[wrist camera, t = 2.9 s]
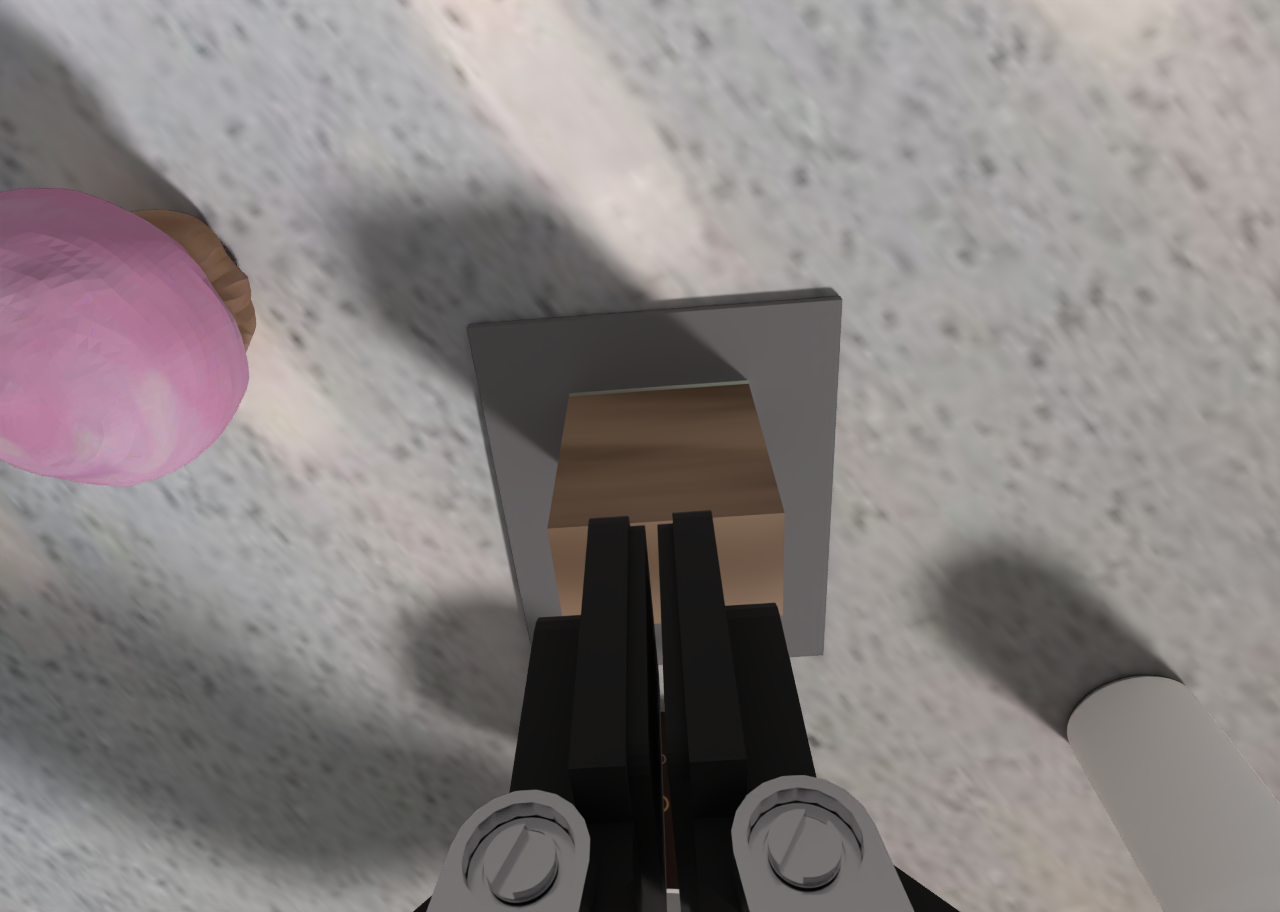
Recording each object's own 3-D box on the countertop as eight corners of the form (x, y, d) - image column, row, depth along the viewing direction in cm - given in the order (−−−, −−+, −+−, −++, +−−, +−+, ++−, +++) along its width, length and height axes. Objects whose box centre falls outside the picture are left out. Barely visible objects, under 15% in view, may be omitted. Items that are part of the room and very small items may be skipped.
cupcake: (5, 219, 28) (-270, 324, 20) (195, 102, 26) (-18, 162, 18) (182, 419, 32) (18, 577, 24) (358, 330, 30) (249, 468, 22)
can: (1068, 678, 40) (1217, 920, 30) (1203, 662, 40) (1402, 903, 29) (1057, 762, 43) (1188, 1006, 33) (1181, 748, 43) (1353, 992, 32)
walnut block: (748, 467, 33) (783, 615, 25) (581, 478, 33) (564, 629, 26) (747, 380, 31) (784, 512, 23) (569, 393, 31) (547, 528, 24)
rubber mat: (821, 649, 39) (823, 655, 39) (537, 666, 39) (536, 672, 39) (840, 295, 30) (842, 299, 29) (468, 324, 30) (466, 328, 30)
